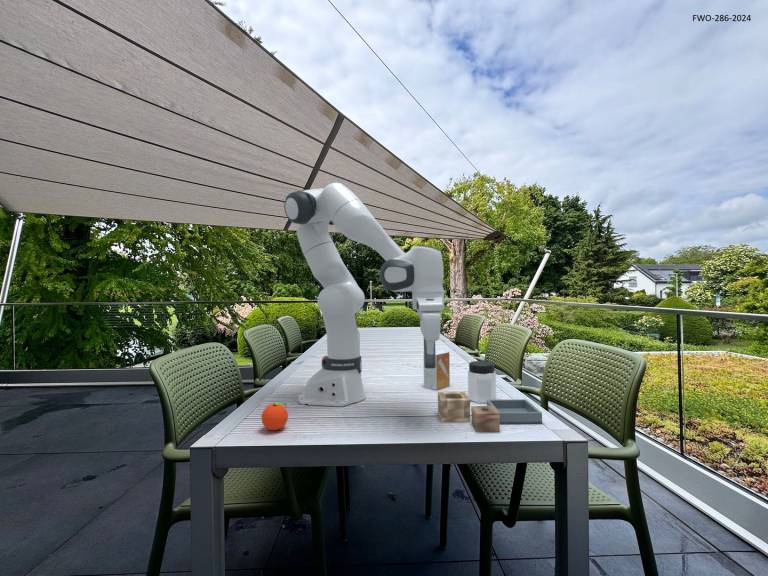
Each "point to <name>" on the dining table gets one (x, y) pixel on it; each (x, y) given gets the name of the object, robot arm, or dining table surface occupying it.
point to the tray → (516, 411)
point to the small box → (438, 372)
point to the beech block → (453, 407)
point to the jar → (481, 381)
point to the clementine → (274, 416)
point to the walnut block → (485, 419)
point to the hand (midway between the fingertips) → (429, 352)
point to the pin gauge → (429, 357)
